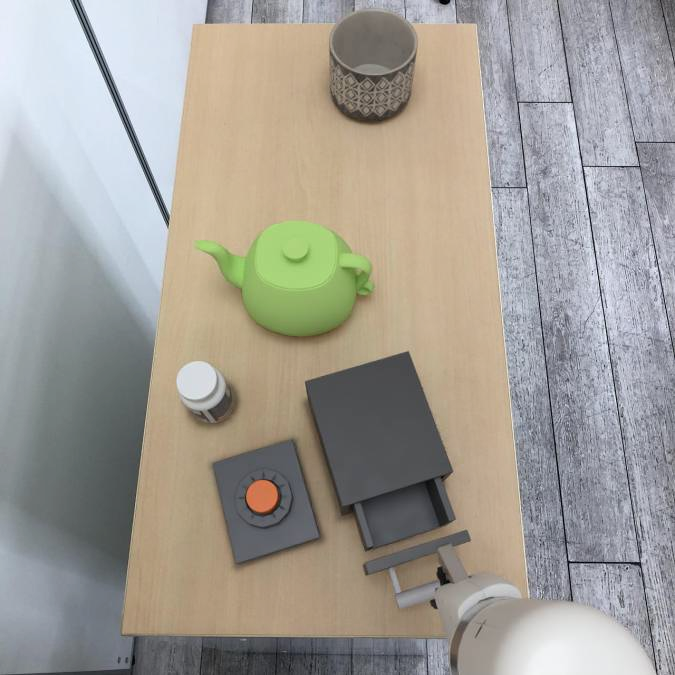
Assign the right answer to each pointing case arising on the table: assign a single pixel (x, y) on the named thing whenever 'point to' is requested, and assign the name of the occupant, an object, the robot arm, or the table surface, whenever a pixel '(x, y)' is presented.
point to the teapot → (296, 277)
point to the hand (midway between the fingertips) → (461, 640)
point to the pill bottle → (205, 392)
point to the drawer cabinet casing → (376, 430)
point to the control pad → (281, 523)
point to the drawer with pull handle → (406, 531)
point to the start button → (262, 496)
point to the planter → (372, 63)
